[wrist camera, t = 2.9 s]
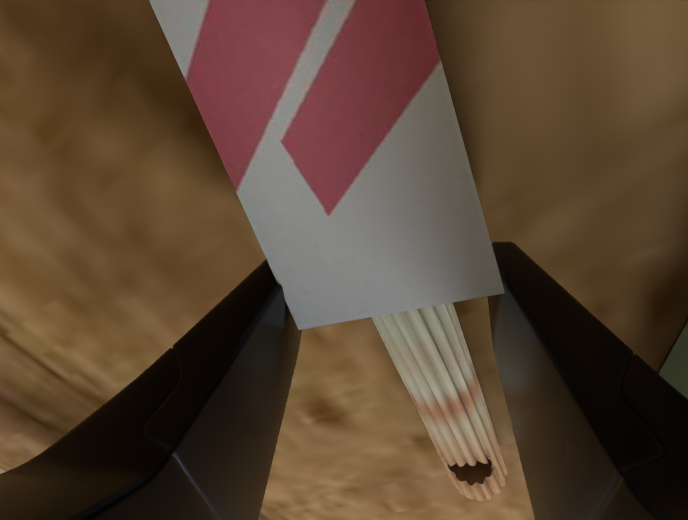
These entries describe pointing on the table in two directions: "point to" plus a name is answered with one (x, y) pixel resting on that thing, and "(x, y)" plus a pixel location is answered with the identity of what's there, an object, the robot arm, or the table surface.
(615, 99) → the table surface
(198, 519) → the robot arm
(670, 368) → the staircase
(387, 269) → the paintbrush
